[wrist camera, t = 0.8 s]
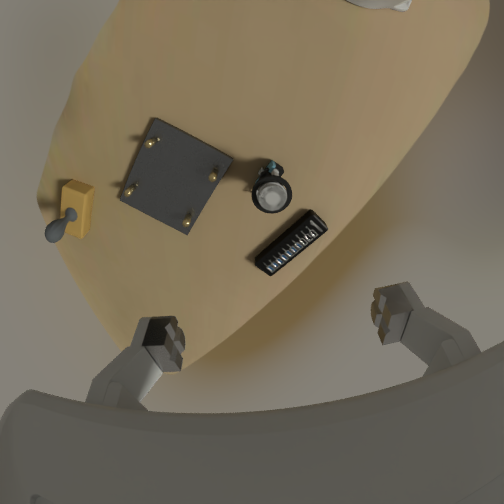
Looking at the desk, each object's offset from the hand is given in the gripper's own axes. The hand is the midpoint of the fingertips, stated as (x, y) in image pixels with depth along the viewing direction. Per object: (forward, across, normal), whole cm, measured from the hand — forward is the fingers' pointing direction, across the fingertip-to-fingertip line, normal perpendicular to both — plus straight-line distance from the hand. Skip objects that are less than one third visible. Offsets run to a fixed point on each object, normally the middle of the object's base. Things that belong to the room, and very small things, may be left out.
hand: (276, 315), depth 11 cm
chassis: (+35, +14, +4) cm, 38 cm away
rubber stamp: (+36, +35, +4) cm, 50 cm away
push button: (+36, -1, +6) cm, 36 cm away
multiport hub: (+36, -4, +19) cm, 41 cm away
